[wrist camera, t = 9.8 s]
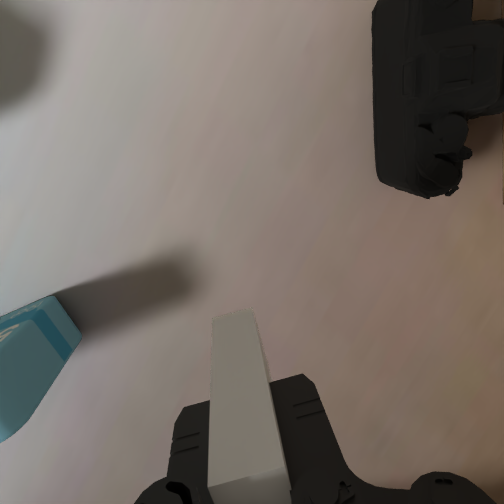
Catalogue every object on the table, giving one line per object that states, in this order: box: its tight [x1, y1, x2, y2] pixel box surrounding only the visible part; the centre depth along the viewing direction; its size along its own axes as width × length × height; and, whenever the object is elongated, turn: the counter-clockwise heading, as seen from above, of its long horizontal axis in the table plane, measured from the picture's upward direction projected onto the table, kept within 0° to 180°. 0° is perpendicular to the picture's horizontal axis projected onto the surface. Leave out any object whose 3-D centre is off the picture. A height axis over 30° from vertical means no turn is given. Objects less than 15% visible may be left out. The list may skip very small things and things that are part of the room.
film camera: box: [371, 0, 504, 199], centre depth 24 cm, size 15×10×9 cm, turn 8°
